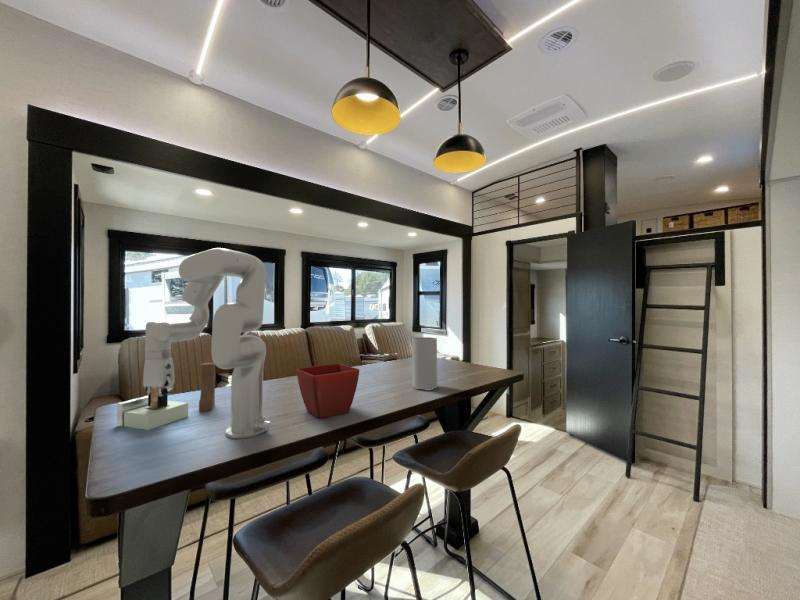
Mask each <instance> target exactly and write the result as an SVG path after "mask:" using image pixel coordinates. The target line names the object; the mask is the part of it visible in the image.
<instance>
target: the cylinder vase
mask: <svg viewBox="0 0 800 600" xmlns="http://www.w3.org/2000/svg"><path fill="white" fill-rule="evenodd" d="M411 339H412V341H411V342H412V345H411V347H412V349H411V350H412V352H411V353H412V355H411V356H412V357H411V358H412V360H411V361H412V364H411V366H412V368H411V369H412V379H411V380H412V381H411V382H412V388H413V387H414V388H417V389H432V388H435V387H437V388H438V344H437V343H438V338H436V337H429V336H428V337H426V336H424V337H421V336H419V337H412V338H411ZM414 388H413V389H414ZM417 389H416V390H417Z"/></svg>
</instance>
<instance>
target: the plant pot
mask: <svg viewBox="0 0 800 600" xmlns="http://www.w3.org/2000/svg"><path fill="white" fill-rule="evenodd" d="M295 369H296V370H295V371H296V376H297V381H298V382H297V383H298V387H299V391H300V395H301V398H302V401H303V403H304V406H305V408H306V409H305V410H306V411H307V412H308V413H310V414H311V415H313V416H314V417H316V418H317V419H325V418H328V417H333V416H337V415H341V414H347V413H349V412H350V410H351V408H352V404H353V401H354V399H355V396H356V390H357V387H358V382H359V375H360V369H359V368H357V367H353V366H349V365H346V364H342V363H331V364H324V365H323V364H322V365H314V366H306V367H300V368H299V367H298V368H295Z"/></svg>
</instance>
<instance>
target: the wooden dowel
mask: <svg viewBox="0 0 800 600" xmlns="http://www.w3.org/2000/svg"><path fill="white" fill-rule="evenodd" d="M164 386H165V385H164ZM164 389H165V388H163V389H162V391H163V390H164ZM158 396H159V391H158V388H157V387H151V410H158V409H161V408H164V407H160V408H158Z"/></svg>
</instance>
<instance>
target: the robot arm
mask: <svg viewBox="0 0 800 600" xmlns="http://www.w3.org/2000/svg"><path fill="white" fill-rule="evenodd" d="M178 275H179V276H180V278H181V279H182V280H183V281H185V282H188V283H187V284H186V286H185V287H184V289H183V290H182V292H181V297H182V299H183V300H184V302H186V304H188V305H190V306H192V307H193V309H194V310H193V312H192V314H191V315H190V317H189V318H188V319H179V320H178V319H177V320H155V321H154V320H153V321H152V320H151V321H148V322H147V323H146V324H145V348H144V349H145V351H144V353H145V354H144V355H145V356H144V357H145V358H144V359H145V361H144V364H143V365H144V366H143V375H142V379H143V380H142V382H143V383H142V387H143V388H144V389H145V390H146V394H147V395H146V396H148V406H149V407H150V406H151V387H157V388H158V391H159V396H158V408H160V407H164V406H167V404H168V401H169V400H168V395H169V394H170V392H171V391H172V389H174V387H175V386H174V385H175V382H176V378H175V377H176V375H175V366H174V362H173V361H174V360H173V358H172V343H175V342H181V341H182V342H183V341H185V342H186V341H192V340H195V339H197V338H198V337H199V336H200V335H201V333H202V332H203V331H204V329H205V328H206V326H207V324H208V323H209V319H210V309H209V305H208V304H209V302H210V300H211V299H212V297H213V296H214V294H215V293H216V291H217V289H218V287H219V286H220V285H221V283H222V281H223V279H224V278H225V277H226V276H227V277H235V278H241V280H240V282H239V283H238V285H237V288H236V291H235V295H236V296H235V302H227V303H224V304H221V306H219V307H217V309H216V311H215V312H214V315H213V317H212V318H213V319H212V329H211V332H212V333H211V348H210V349H211V350H210V351H211V353H210V354H211V360H212V363H214V364H215V367H217V368H218V369H221V370H230V369H233V371H232V374H231V380H230V381H231V386H230V390H231V391H230V426H229V427H227V428H226V430H225V436H226V437H227V438H230V439H245V438H251V437H255V436H259V435H261V434H262V433H265V432H266V431H268V430H269V428H270V426H272V421H270V420H269V421H267V420H266V415H263V412H264V411H263V406H264V405H263V404H264V402H263V401H264V397H263V395H264V364H265V362H266V361H265V359H266V355H267V347H266V343H265V341H264V340H263V339H262V338H261V337H259V336H257V335H252V334H251V335H241V334H242V333H248V332H249V333H250V332H254V331H257V330H260V328H261V327H262V325H263V321H264V309H265V306H264V304H265V288H266V282H267V281H266V280H267V270H266V266H265V263H264V262H263V261H262V260H261V258H260V259H259V258H258V257H257V256H255V255H252V254H251V253H250V254H249V253H246V252H242V251H238V250H232V249H229V248H223V247H222V248H221V247H215V248H211V249H207V250H204V251H200V252H198V253H194V254H191V255H188V256H187V257H185V258H184V259H183V260H182V261H181V263H180V265H179V267H178ZM164 385H165V386H164ZM163 388H165V389H164V390H163V391H162V389H163Z"/></svg>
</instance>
